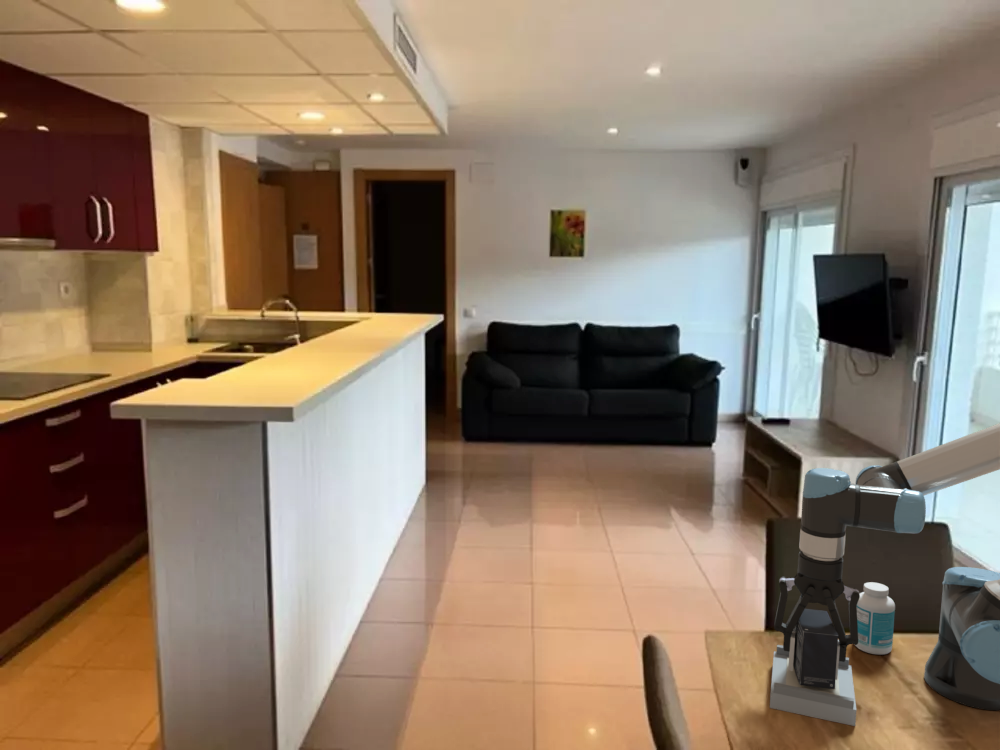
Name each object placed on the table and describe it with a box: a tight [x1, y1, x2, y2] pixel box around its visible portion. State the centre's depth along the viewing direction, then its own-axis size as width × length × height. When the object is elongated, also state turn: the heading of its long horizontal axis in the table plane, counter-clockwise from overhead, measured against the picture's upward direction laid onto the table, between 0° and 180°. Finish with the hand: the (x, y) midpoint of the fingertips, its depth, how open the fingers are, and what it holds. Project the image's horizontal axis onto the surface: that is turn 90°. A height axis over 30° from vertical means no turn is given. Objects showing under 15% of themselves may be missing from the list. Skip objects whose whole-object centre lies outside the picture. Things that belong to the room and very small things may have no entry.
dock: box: [769, 644, 857, 727], centre depth 137 cm, size 14×16×4 cm
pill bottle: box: [854, 581, 896, 656], centre depth 154 cm, size 8×7×14 cm
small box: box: [792, 606, 839, 689], centre depth 136 cm, size 11×6×10 cm, turn 167°
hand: (812, 671), depth 137 cm, fingers closed on small box, 7 cm apart
